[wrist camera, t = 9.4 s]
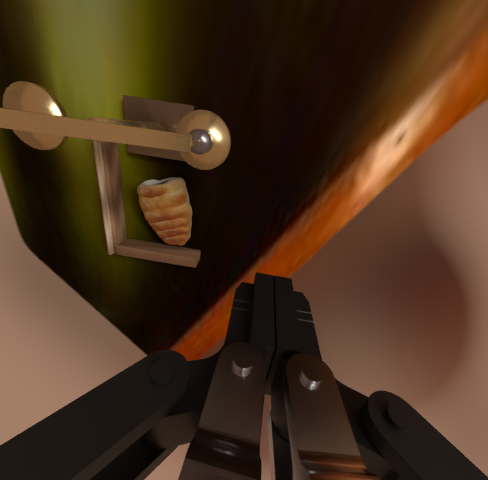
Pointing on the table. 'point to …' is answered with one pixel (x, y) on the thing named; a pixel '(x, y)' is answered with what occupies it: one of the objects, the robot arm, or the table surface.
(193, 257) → the rail
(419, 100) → the table surface
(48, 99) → the balance
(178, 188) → the pastry
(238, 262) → the table surface
